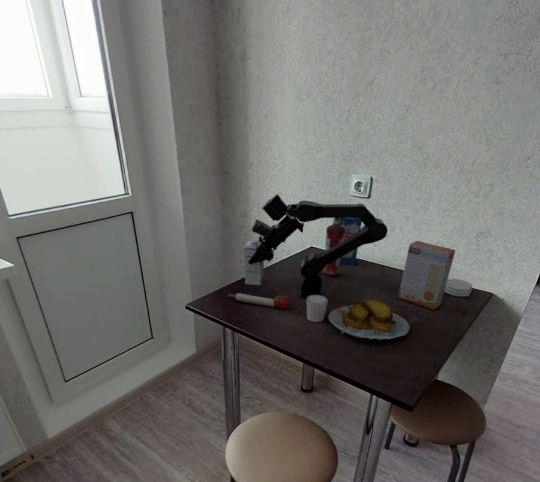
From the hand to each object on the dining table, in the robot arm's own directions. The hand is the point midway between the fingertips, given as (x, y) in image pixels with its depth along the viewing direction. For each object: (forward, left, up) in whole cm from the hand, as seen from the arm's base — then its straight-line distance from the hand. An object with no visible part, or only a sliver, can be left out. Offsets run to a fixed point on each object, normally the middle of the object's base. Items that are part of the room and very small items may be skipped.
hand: (250, 259), depth 144 cm
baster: (-6, +9, -12) cm, 16 cm away
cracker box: (-60, -14, -12) cm, 63 cm away
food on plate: (-44, +12, -12) cm, 47 cm away
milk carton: (-28, -45, -12) cm, 55 cm away
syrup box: (-2, 0, -8) cm, 9 cm away
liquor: (-25, -28, -12) cm, 40 cm away
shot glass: (-27, +12, -12) cm, 32 cm away
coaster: (-74, -29, -12) cm, 81 cm away
